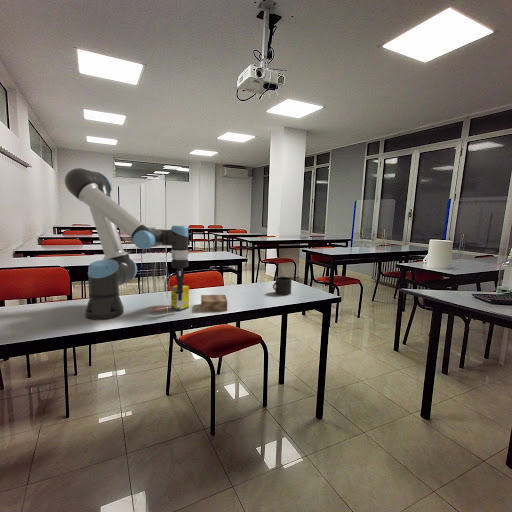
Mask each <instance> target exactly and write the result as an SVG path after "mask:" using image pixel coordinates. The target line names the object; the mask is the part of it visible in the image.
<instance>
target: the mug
mask: <svg viewBox="0 0 512 512" xmlns="http://www.w3.org/2000/svg"><path fill="white" fill-rule="evenodd" d="M272 289H273V290H274V293H275V294H276V293H277V294H276V295H279V294H282V295H281V296H288V295H287V294H290V295H291V294H292V278H291V277H288V276H287V277H286V276H277V277H276V278H275V282H274V283H273V285H272Z"/></svg>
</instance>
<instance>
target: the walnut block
mask: <svg viewBox="0 0 512 512" xmlns="http://www.w3.org/2000/svg"><path fill="white" fill-rule="evenodd" d="M200 301H201V302H200V306H201V307H200V308H201V309H200V310H201V312H226V311H228V299H227V296H226V295H225V294H202V295H200Z"/></svg>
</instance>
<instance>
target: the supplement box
mask: <svg viewBox="0 0 512 512" xmlns="http://www.w3.org/2000/svg"><path fill="white" fill-rule="evenodd" d="M170 291H171V292H170V293H171V294H170V296H171V297H170V299H171V300H170V301H171V302H170V304H171V305H170V307H171V308H170V309H171V310H175V311H179V312H182V311H184V310H187V309H189V308H190V306H189V305H190V286H189V285H185V284H184V285H183V307H177V294H175V292H177V284H176V285H173V286H171V288H170Z"/></svg>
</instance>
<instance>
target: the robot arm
mask: <svg viewBox="0 0 512 512" xmlns="http://www.w3.org/2000/svg"><path fill="white" fill-rule="evenodd" d="M64 185H65V187H66V189H67V190H68V193H70V194H71V195H73V196H74V197H75V198H76V199H77V200H79V201H80V202H82V203H84V204H85V205H87V206H88V207H89V209H90V213H91V216H92V220H93V222H94V226H95V229H96V232H97V236H98V239H99V241H100V245H101V248H102V251H103V254H104V257H103V258H102V259H101V260H95V261H92V262H91V263H89V265H88V266H87V267H88V269H87V270H88V272H87V276H88V278H87V279H88V297H89V298H88V301H87V305H86V308H85V312H84V313H85V318H86V317H87V318H86V319H89V318H90V319H89V320H96V319H99V320H108V319H115V318H116V317H117V318H118V317H120V316H122V315H124V313H125V311H124V310H125V309H124V305H123V303H122V300H121V298H120V286H121V285H124V284H128V283H129V282H131V281H132V280H134V278H135V277H136V275H137V272H138V266H137V264H136V262H135V261H134V260H133V259H132V258H130V255H129V253H128V252H127V251H125V250H124V247H123V244H122V240H121V237H120V233H119V231H118V229H119V230H120V231H122V232H123V233H125V234H126V235H127V237H128V236H129V237H130V238H131V239H132V240H133V243H134V245H135V247H136V248H137V249H138V248H139V249H141V250H145V249H146V250H147V249H148V250H149V249H151V248H155V247H159V246H162V247H163V246H164V247H165V246H166V247H167V246H169V247H170V246H171V258H172V259H171V267H172V268H173V269H177V270H175V276H176V277H175V280H176V285H177V292H175V294H177V307H183V285H184V286H185V283H184V280H185V270H183V269H186V268H188V267H189V254H190V251H189V228H188V226H187V225H172V226H171V229H161V228H150V229H149V227H147V226H146V225H144V224H143V223H142V222H141V221H140V220H138V219H137V218H136V217H134V216H133V215H132V214H130V213H129V212H128V211H127V210H126V209H124V208H123V207H122V206H121V205H120V204H119V203H117V202H116V201H114V200H113V199H112V196H111V192H112V190H113V184H112V182H111V179H109V177H108V176H106V175H105V174H102V173H101V172H98V171H94V170H93V171H92V170H89V169H84V168H78V167H77V168H72V169H71V170H69V171H68V172H66V174H65V176H64Z"/></svg>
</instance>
